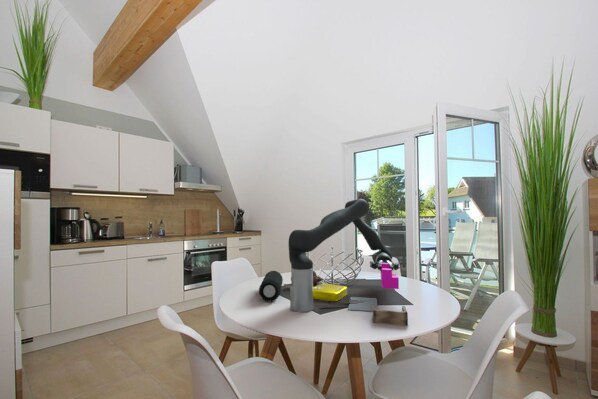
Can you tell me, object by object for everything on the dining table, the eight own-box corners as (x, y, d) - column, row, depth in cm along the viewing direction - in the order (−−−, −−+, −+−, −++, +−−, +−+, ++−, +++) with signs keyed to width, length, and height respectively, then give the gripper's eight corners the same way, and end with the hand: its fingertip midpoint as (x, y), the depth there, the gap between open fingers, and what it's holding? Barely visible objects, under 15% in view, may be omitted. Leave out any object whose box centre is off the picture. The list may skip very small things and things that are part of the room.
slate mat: (348, 310, 121) (348, 309, 121) (350, 297, 139) (350, 296, 139) (377, 312, 119) (377, 311, 119) (376, 299, 136) (376, 298, 136)
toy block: (398, 289, 117) (398, 270, 117) (382, 288, 118) (382, 269, 119) (395, 280, 131) (395, 263, 132) (380, 279, 133) (380, 262, 133)
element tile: (336, 303, 132) (336, 292, 132) (307, 298, 139) (307, 288, 139) (348, 295, 145) (348, 285, 145) (321, 291, 152) (320, 282, 152)
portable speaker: (264, 288, 157) (264, 269, 158) (283, 288, 158) (282, 269, 158) (258, 303, 132) (258, 281, 132) (280, 303, 132) (279, 280, 132)
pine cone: (289, 289, 154) (289, 270, 155) (292, 284, 164) (292, 267, 164) (323, 290, 152) (322, 271, 152) (323, 285, 162) (323, 267, 162)
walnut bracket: (373, 322, 107) (373, 310, 107) (373, 315, 115) (372, 304, 115) (407, 325, 105) (407, 312, 105) (405, 317, 112) (405, 306, 112)
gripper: (368, 253, 145) (368, 259, 128) (398, 254, 142) (403, 260, 125) (369, 269, 145) (369, 276, 128) (399, 270, 142) (403, 278, 125)
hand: (385, 268), depth 127 cm, fingers closed on toy block, 3 cm apart
